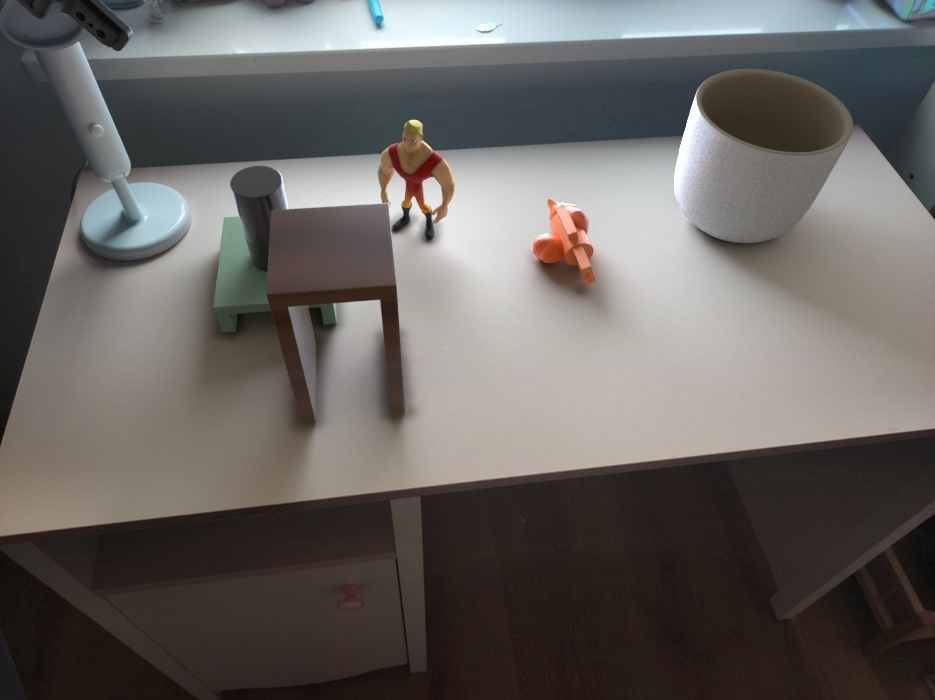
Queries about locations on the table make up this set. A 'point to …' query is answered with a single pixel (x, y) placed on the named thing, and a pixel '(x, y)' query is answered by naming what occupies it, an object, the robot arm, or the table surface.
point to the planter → (757, 153)
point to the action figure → (416, 174)
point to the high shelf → (331, 286)
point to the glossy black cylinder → (258, 207)
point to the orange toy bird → (566, 239)
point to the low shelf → (244, 281)
